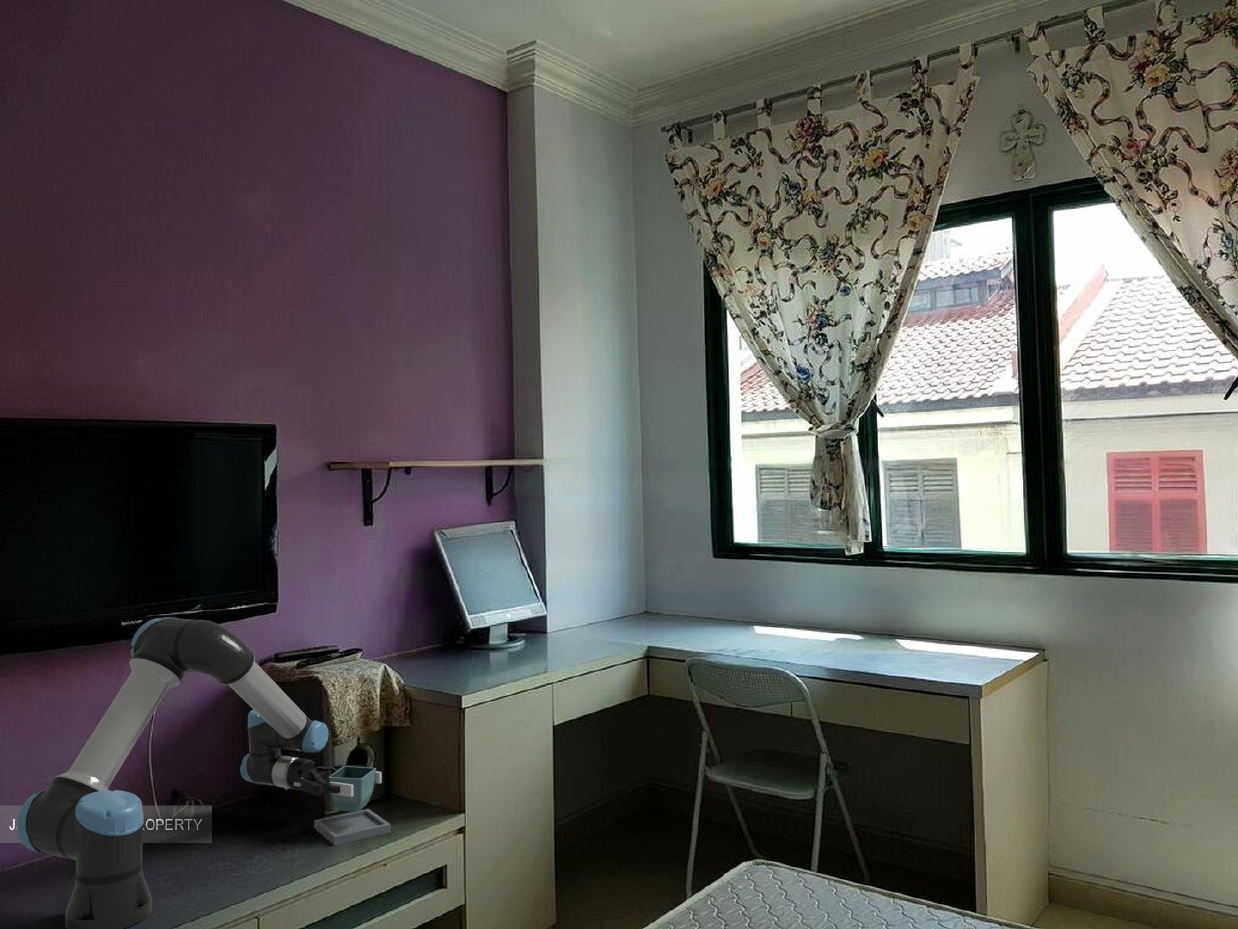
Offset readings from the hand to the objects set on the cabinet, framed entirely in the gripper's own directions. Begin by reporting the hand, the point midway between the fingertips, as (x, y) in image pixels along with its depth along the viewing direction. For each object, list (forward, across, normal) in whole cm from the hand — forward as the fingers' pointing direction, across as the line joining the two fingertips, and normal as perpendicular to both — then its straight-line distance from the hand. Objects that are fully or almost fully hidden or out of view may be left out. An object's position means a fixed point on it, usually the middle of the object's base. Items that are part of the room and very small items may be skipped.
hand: (366, 784), depth 236 cm
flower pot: (-4, 0, -7) cm, 8 cm away
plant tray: (-4, 0, -12) cm, 13 cm away
